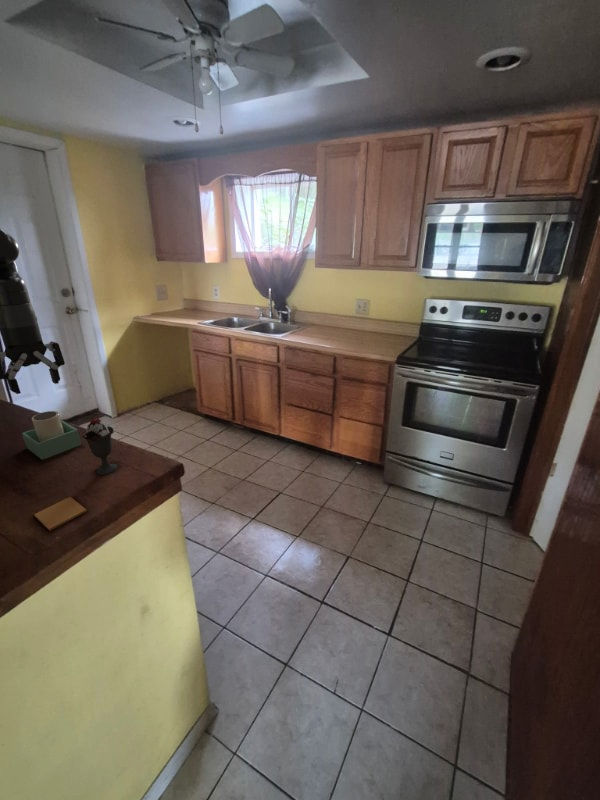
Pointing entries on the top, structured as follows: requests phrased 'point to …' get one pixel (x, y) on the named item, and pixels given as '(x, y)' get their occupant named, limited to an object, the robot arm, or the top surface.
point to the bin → (52, 442)
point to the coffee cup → (47, 425)
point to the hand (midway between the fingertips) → (37, 387)
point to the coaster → (60, 513)
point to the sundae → (100, 443)
